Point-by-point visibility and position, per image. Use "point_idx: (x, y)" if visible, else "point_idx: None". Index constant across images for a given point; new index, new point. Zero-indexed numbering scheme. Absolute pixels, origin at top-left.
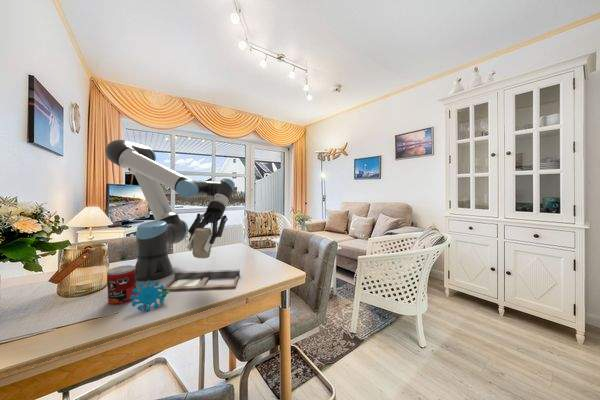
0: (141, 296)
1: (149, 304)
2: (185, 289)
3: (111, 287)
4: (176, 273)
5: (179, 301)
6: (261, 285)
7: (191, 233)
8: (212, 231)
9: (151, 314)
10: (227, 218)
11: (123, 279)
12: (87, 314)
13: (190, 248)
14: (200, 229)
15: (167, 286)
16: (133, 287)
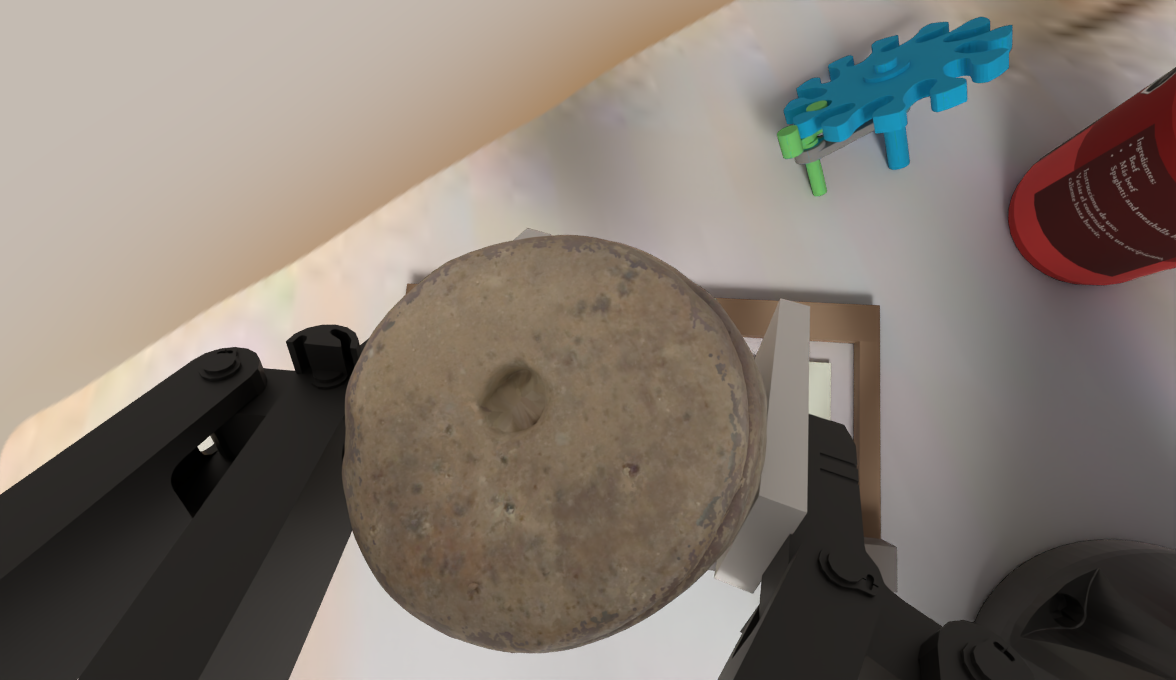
0: (921, 50)
1: (845, 66)
2: (716, 299)
3: None
4: (877, 544)
5: (704, 157)
6: (263, 304)
7: (874, 580)
8: (327, 432)
9: (800, 39)
10: None
11: None
12: (1169, 65)
13: (758, 358)
14: (585, 347)
15: (859, 349)
16: (1066, 172)
